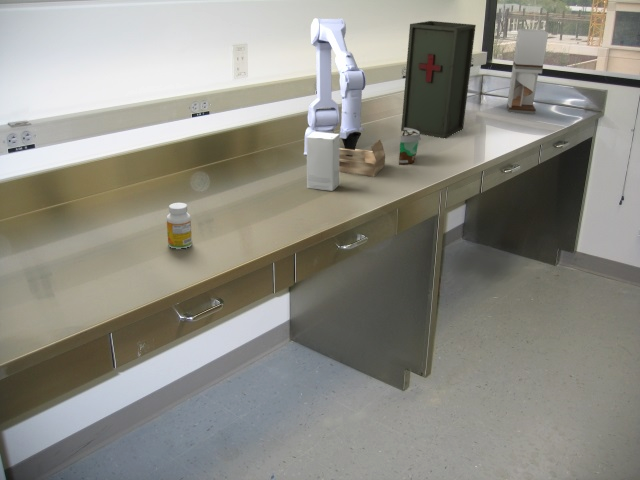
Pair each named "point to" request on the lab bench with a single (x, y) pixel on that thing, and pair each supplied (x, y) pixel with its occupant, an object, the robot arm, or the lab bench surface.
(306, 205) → the lab bench surface
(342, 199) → the lab bench surface
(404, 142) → the food container
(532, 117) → the lab bench surface
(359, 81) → the robot arm
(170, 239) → the supplement bottle
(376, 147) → the flap
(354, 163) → the carton
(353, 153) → the flap
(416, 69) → the first aid box
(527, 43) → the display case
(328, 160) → the skincare box
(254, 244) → the lab bench surface
